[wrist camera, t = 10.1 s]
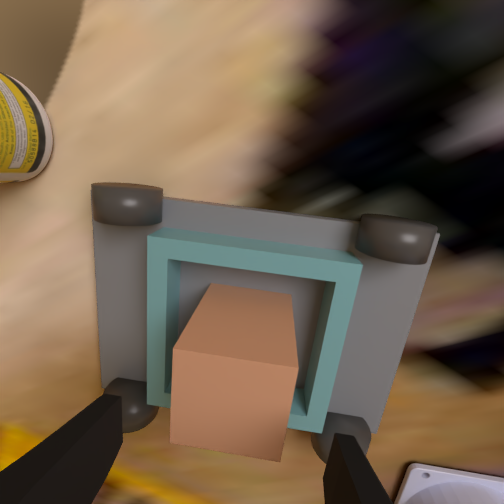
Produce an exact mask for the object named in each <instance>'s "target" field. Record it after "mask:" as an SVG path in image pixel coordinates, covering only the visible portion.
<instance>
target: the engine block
mask: <svg viewBox="0 0 504 504" xmlns="http://www.w3.org/2000/svg"><path fill="white" fill-rule="evenodd" d="M298 369H299V366H298V357H297V347H296V337H295V327H294V317H293V307H292V297H291V294H285V293H278V292H271V291H264V290H257V289H250V288H244V287H237V286H230V285H223V284H216V283H211V284H210V286H209V288H208V289H207V291H206V293H205V294H204V296H203V298H202V300H201V301H200V303H199V305H198V306H197V308H196V310H195V312H194V313H193V315H192V317H191V318H190V320H189V322H188V324H187V325H186V327H185V329H184V330H183V332H182V334H181V336H180V337H179V339H178V341H177V342H176V344H175V346H174V347H173V361H172V388H171V415H170V442H169V443H174V444H179V445H185V446H191V447H197V448H202V449H208V450H214V451H219V452H225V453H231V454H236V455H242V456H248V457H253V458H259V459H265V460H271V461H276V462H280V460H281V455H282V450H283V445H284V440H285V435H286V430H287V425H288V420H289V415H290V410H291V405H292V400H293V394H294V389H295V384H296V379H297V374H298Z"/></svg>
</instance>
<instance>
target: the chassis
mask: <svg viewBox="0 0 504 504" xmlns="http://www.w3.org/2000/svg"><path fill="white" fill-rule="evenodd" d="M91 189H92V190H91V203H92V221H93V239H94V256H95V274H96V292H97V310H98V328H99V346H100V364H101V382H102V388H104V389H105V390H104V393H105V394H111V395H116V396H122V429H123V433H130V432H134V431H137V430H140V429H142V428H144V427H145V426H147V425H148V424H149V423H150V422H151V421H152V420H153V419H154V418H155V416H156V415H157V412H158V409H159V406H160V407H166V408H171V388H172V361H173V347H174V346H175V344H176V342H177V341H178V339H179V337H180V336H181V334H182V332H183V330H184V329H185V327H186V325H187V324H188V322H189V320H190V318H191V317H192V315H193V313H194V312H195V310H196V308H197V306H198V305H199V303H200V301H201V300H202V298H203V296H204V294H205V293H206V291H207V289H208V288H209V286H210V284H211V283H216V284H223V285H230V286H237V287H244V288H250V289H257V290H264V291H271V292H278V293H285V294H291V297H292V307H293V317H294V327H295V337H296V347H297V357H298V366H299V369H298V374H297V379H296V384H295V389H294V394H293V400H292V405H291V410H290V415H289V420H288V425H287V428H291V429H297V430H303V431H309V432H312V434H311V442H312V445H313V448H314V450H315V452H316V454H317V455H318V456H319V458H320V459H321V460H322V461H323V462H324V463H326V464H327V460H328V457H329V453H330V449H331V445H332V441H333V437H334V434H335V433H341V434H347V435H353V436H354V437H355V438H356V439H357V441H358V443H359V445H360V447H361V449H362V450H363V452H364V454H365V456H366V454H367V451H368V448H369V444H370V441H371V433H375V434H376V433H377V430H378V427H379V424H380V421H381V418H382V415H383V411H384V408H385V405H386V402H387V399H388V396H389V393H390V390H391V386H392V383H393V380H394V377H395V374H396V371H397V368H398V365H399V361H400V358H401V355H402V352H403V349H404V346H405V343H406V340H407V336H408V333H409V330H410V327H411V324H412V321H413V318H414V315H415V311H416V308H417V305H418V302H419V299H420V296H421V293H422V290H423V286H424V283H425V280H426V277H427V274H428V271H429V268H430V264H431V261H432V258H433V255H434V252H435V249H436V246H437V243H438V239H439V236H440V234H439V233H436V232H437V229H438V227H436V226H434V225H432V224H428V223H425V222H421V221H417V220H412V219H407V218H402V217H395V216H389V215H380V214H362V217H361V221H352V220H344V219H336V218H328V217H320V216H312V215H304V214H296V213H289V212H281V211H273V210H265V209H257V208H249V207H241V206H233V205H225V204H218V203H210V202H202V201H194V200H186V199H178V198H170V197H163V189H162V188H159V187H154V186H148V185H140V184H130V183H93V184H91ZM104 393H103V394H104Z"/></svg>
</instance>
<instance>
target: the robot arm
mask: <svg viewBox="0 0 504 504" xmlns="http://www.w3.org/2000/svg"><path fill="white" fill-rule="evenodd" d="M122 443H123V429H122V396H116V395H111V394H105V393H104V394H103V395H102V396H100V397H99V398H98V399H96V400H95V401H94V402H92V403H91V404H90V405H89V406H87V407H86V408H85V409H84V410H82V411H81V412H80V413H78V414H77V415H76V416H75V417H73V418H72V419H71V420H70V421H68V422H67V423H66V424H64V425H63V426H62V427H61V428H59V429H58V430H57V431H55V432H54V433H53V434H51V435H50V436H49V437H47V438H46V439H45V440H43V441H42V442H41V443H39V444H38V445H37V446H35V447H34V448H33V449H31V450H30V451H29V452H27V453H26V454H25V455H23V456H22V457H20V458H19V459H18V460H16V461H15V462H13V463H12V464H11V465H9V466H8V467H6V468H5V469H4V470H2V471H1V472H0V504H91V503H92V502H93V500H94V498H95V496H96V495H97V493H98V491H99V489H100V488H101V486H102V484H103V483H104V481H105V479H106V477H107V475H108V473H109V471H110V469H111V467H112V465H113V463H114V460H115V458H116V456H117V454H118V452H119V449H120V447H121V445H122ZM323 485H324V498H325V504H393V503H392V501H391V499H390V498H389V496H388V494H387V493H386V491H385V489H384V487H383V486H382V484H381V482H380V481H379V479H378V477H377V475H376V474H375V472H374V470H373V468H372V467H371V465H370V463H369V461H368V459H367V458H366V456H365V454H364V452H363V450H362V449H361V447H360V445H359V443H358V441H357V439H356V438H355V437H354V436H353V435H347V434H341V433H335V434H334V437H333V441H332V445H331V449H330V453H329V457H328V460H327V464H326V468H325V472H324V476H323ZM394 504H504V478H501V477H495V476H489V475H483V474H477V473H471V472H466V471H460V470H454V469H448V468H442V467H436V466H430V465H424V464H419V463H413V464H411V465H409V467H408V469H407V471H406V474H405V477H404V479H403V482H402V484H401V487H400V490H399V492H398V495H397V498H396V500H395V503H394Z"/></svg>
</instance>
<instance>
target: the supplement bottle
mask: <svg viewBox="0 0 504 504" xmlns="http://www.w3.org/2000/svg"><path fill="white" fill-rule="evenodd" d="M52 146H53V136H52V129H51V125H50V121H49V119H48V116H47V114H46V111H45V110H44V108H43V106H42V105H41V103H40V102H39V100H38V99H37V98H36V96H35V95H34V94H33V93H32V92H31V91H30V90H29V89H28V88H27V87H26V86H25V85H23V84H22V83H21V82H19V81H17V80H16V79H14V78H13V77H10V76H8V75H6V74H3V73H1V72H0V183H11V182H20V181H25V180H28V179H31V178H33V177H35V176H36V175H38V174H39V173H40V172H41V171H42V170H43V169H44V167H45V166H46V164H47V163H48V160H49V158H50V156H51V152H52Z"/></svg>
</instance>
